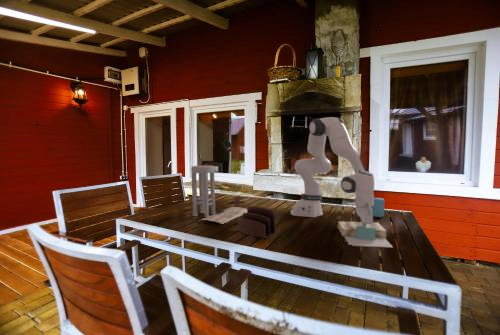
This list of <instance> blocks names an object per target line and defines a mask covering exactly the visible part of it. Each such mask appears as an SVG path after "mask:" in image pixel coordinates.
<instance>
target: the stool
mask: <svg viewBox="0 0 500 335" xmlns="http://www.w3.org/2000/svg"><path fill="white" fill-rule="evenodd" d="M190 171H191V195H192V196H191V198H192V217H193V216H198V205H199V214H200V213H204V214H203V215H204V217H208V216H210V215H211V214H216V191H215V190H216V188H215V187H216V184H215V165H210V164H209V165H208V164H206V165H205V164H204V165H203V164H202V165H193V166H191V168H190ZM197 174H198V184H197ZM209 184H210V185H209ZM197 185H198V187H197ZM209 186H210V187H209ZM197 188H198V189H197ZM209 189H210V197H209ZM198 191H199V192H198ZM198 194H199V197H198ZM198 217H199V216H198ZM204 217H203V218H204Z"/></svg>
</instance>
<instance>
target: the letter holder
mask: <svg viewBox="0 0 500 335" xmlns="http://www.w3.org/2000/svg"><path fill="white" fill-rule="evenodd" d="M246 209H247V213H243V214H242V217H241V218H237V220H236V221H237V232H238V231H241V232H245V233H248V234H252V235H255V236H259V237H262V238H261V239H263V238H266V239H268V238H270V237H272V236H271V235H273V234H276V219H275V218H276V217H275V216H276V215H275V211H274V210H272V209H269V208H266V207H260V206H247V208H246ZM241 232H240V233H241ZM248 234H247V235H248ZM252 235H251V236H252ZM255 236H254V237H255ZM269 236H270V237H269ZM273 236H274V235H273ZM259 237H258V238H259ZM267 237H268V238H267Z"/></svg>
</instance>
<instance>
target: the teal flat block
mask: <svg viewBox="0 0 500 335" xmlns="http://www.w3.org/2000/svg"><path fill="white" fill-rule="evenodd" d="M375 231H376V228H375V227H360V226H356V238H357V239H373V240H375Z"/></svg>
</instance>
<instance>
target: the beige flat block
mask: <svg viewBox="0 0 500 335" xmlns="http://www.w3.org/2000/svg"><path fill="white" fill-rule="evenodd" d="M337 223H338V225H337V227H338V228H337V229H338V231H339V233H340V232H341V233H340V235H341V234H342V235H341V237H345V236H349V237H356V226H360V227H362V226H361V221H343V220H342V221H338V222H337ZM366 227H375V228H376V231H375V238H385V239H387V230H386V229H385V228H384V227H383V226H382V225H381V224H380V223H379V222H373V223H372V224H367V225H366Z"/></svg>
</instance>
